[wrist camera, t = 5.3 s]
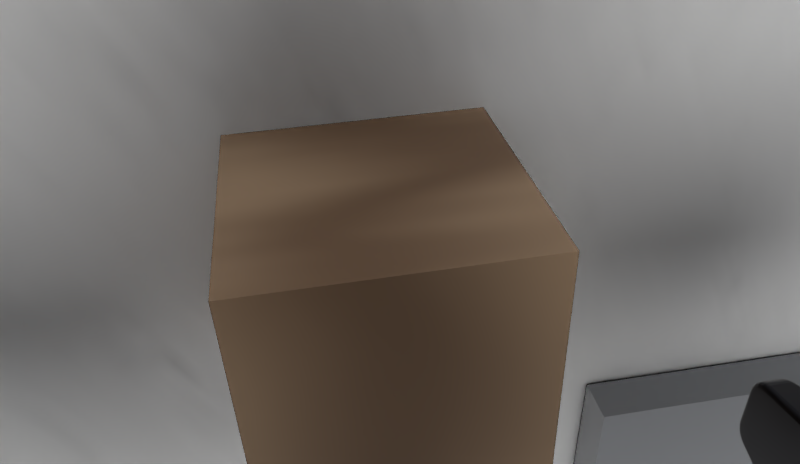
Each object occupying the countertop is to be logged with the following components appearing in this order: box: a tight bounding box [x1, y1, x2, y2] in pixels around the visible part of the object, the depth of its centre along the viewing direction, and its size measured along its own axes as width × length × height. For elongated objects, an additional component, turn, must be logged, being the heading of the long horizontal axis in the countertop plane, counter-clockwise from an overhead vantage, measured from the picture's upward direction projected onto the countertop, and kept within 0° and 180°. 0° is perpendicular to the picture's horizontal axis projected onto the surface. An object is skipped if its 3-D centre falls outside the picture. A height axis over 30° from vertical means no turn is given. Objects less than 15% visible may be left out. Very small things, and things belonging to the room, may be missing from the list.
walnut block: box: [208, 107, 579, 464], centre depth 12 cm, size 4×4×4 cm
